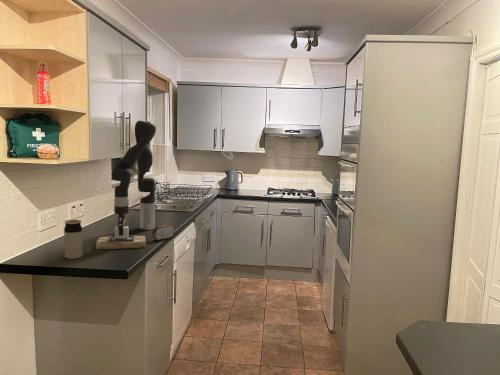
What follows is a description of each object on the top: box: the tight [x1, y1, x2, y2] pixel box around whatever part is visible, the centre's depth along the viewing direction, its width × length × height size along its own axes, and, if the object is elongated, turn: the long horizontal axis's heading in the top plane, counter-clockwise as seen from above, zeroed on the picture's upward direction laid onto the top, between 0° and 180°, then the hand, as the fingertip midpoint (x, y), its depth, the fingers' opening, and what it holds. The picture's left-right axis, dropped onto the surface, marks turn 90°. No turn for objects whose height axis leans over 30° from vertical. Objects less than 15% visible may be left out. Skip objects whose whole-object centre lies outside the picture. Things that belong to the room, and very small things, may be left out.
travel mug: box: [63, 219, 84, 260], centre depth 192 cm, size 8×8×18 cm
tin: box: [151, 223, 175, 241], centre depth 232 cm, size 15×3×8 cm, turn 141°
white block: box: [114, 225, 130, 240], centre depth 217 cm, size 5×7×7 cm
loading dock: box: [95, 234, 146, 250], centre depth 217 cm, size 15×25×4 cm, turn 103°
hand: (121, 233), depth 217 cm, fingers open, 8 cm apart
